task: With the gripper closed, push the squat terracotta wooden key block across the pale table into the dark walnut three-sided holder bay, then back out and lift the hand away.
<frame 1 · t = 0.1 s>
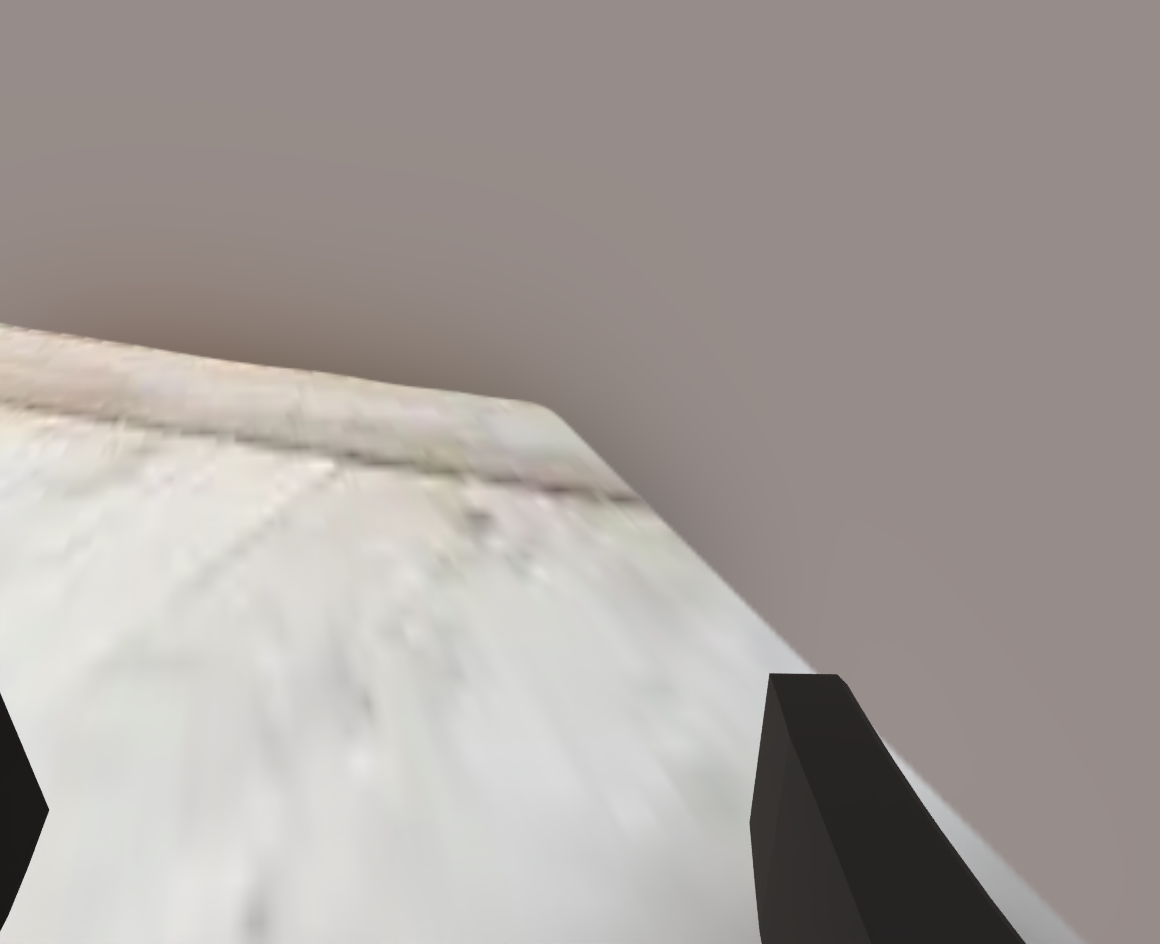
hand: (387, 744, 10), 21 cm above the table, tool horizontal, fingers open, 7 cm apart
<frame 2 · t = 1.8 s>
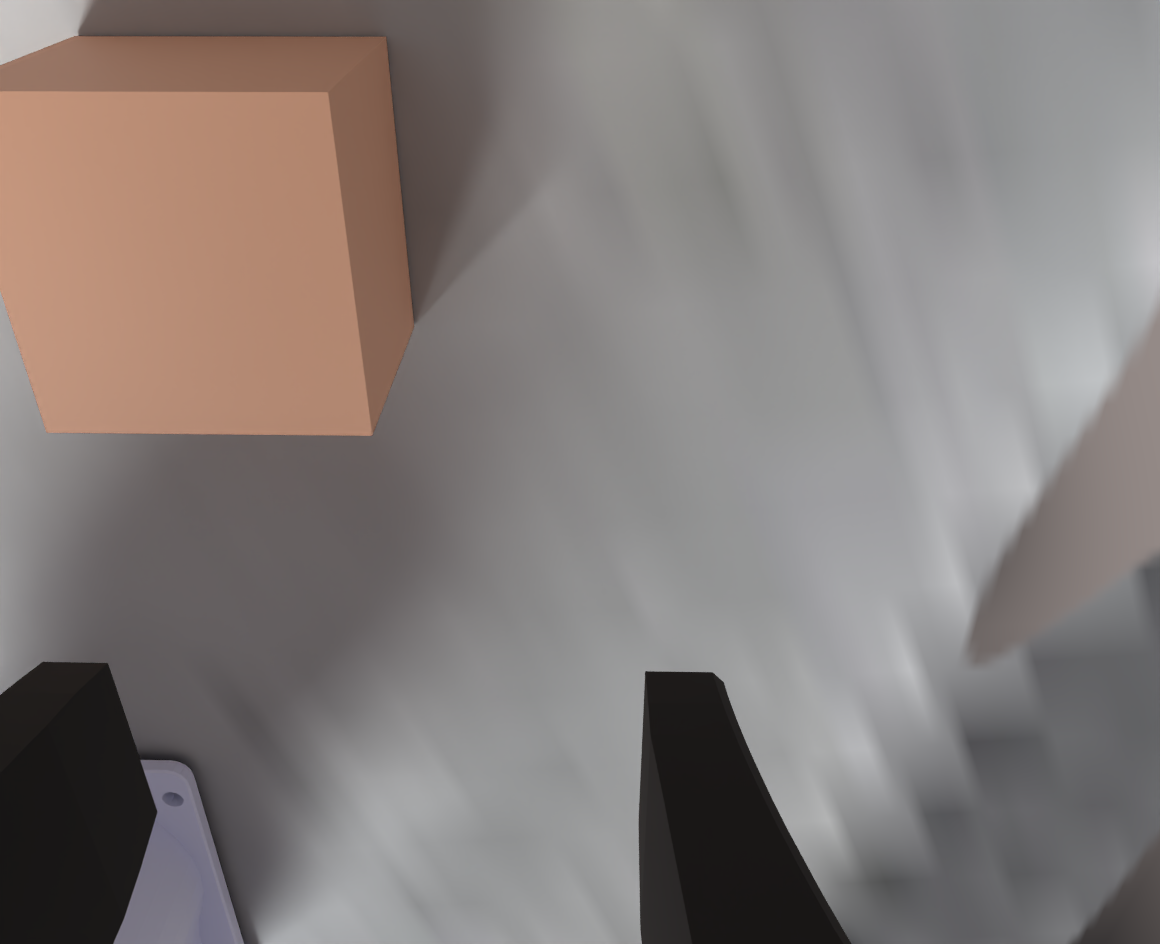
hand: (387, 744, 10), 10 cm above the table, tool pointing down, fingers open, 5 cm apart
key block: (256, 192, 18), on the table
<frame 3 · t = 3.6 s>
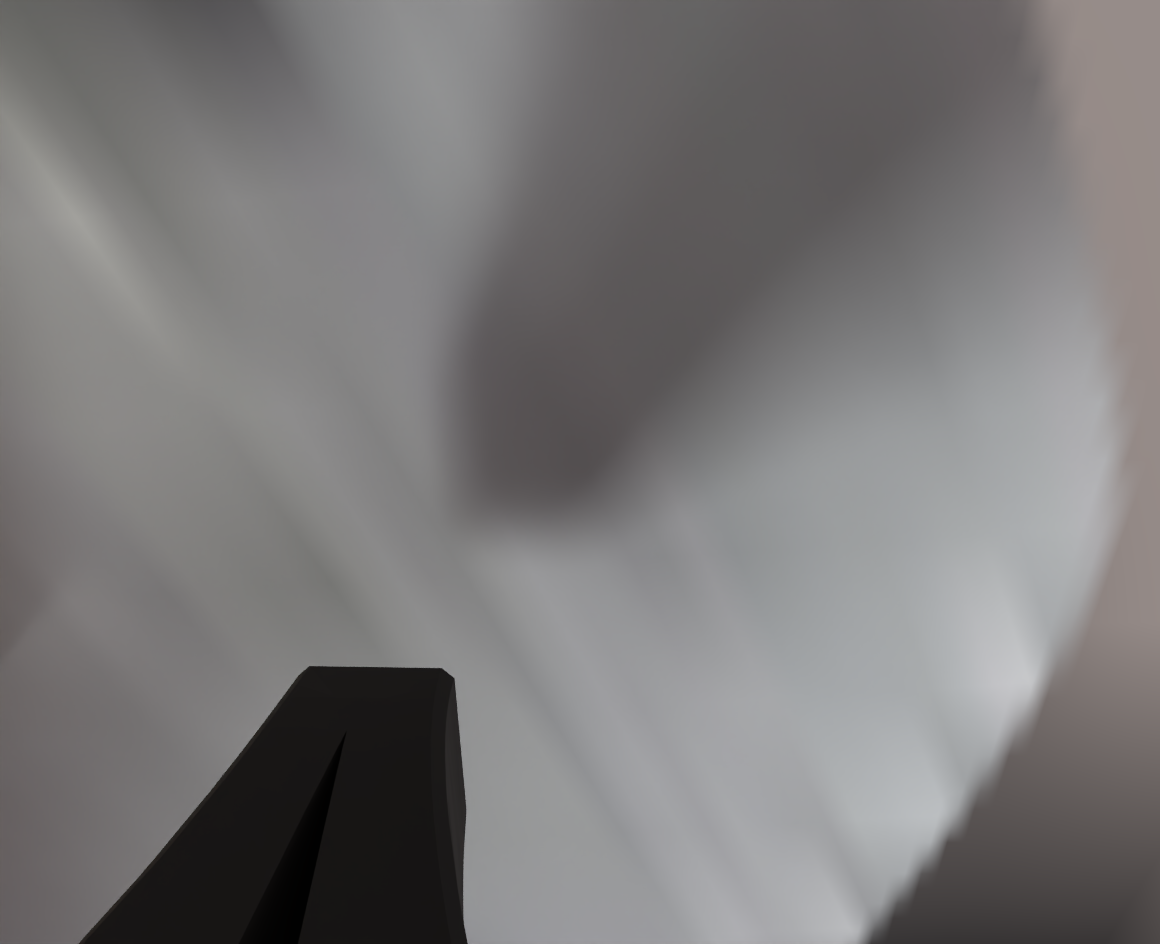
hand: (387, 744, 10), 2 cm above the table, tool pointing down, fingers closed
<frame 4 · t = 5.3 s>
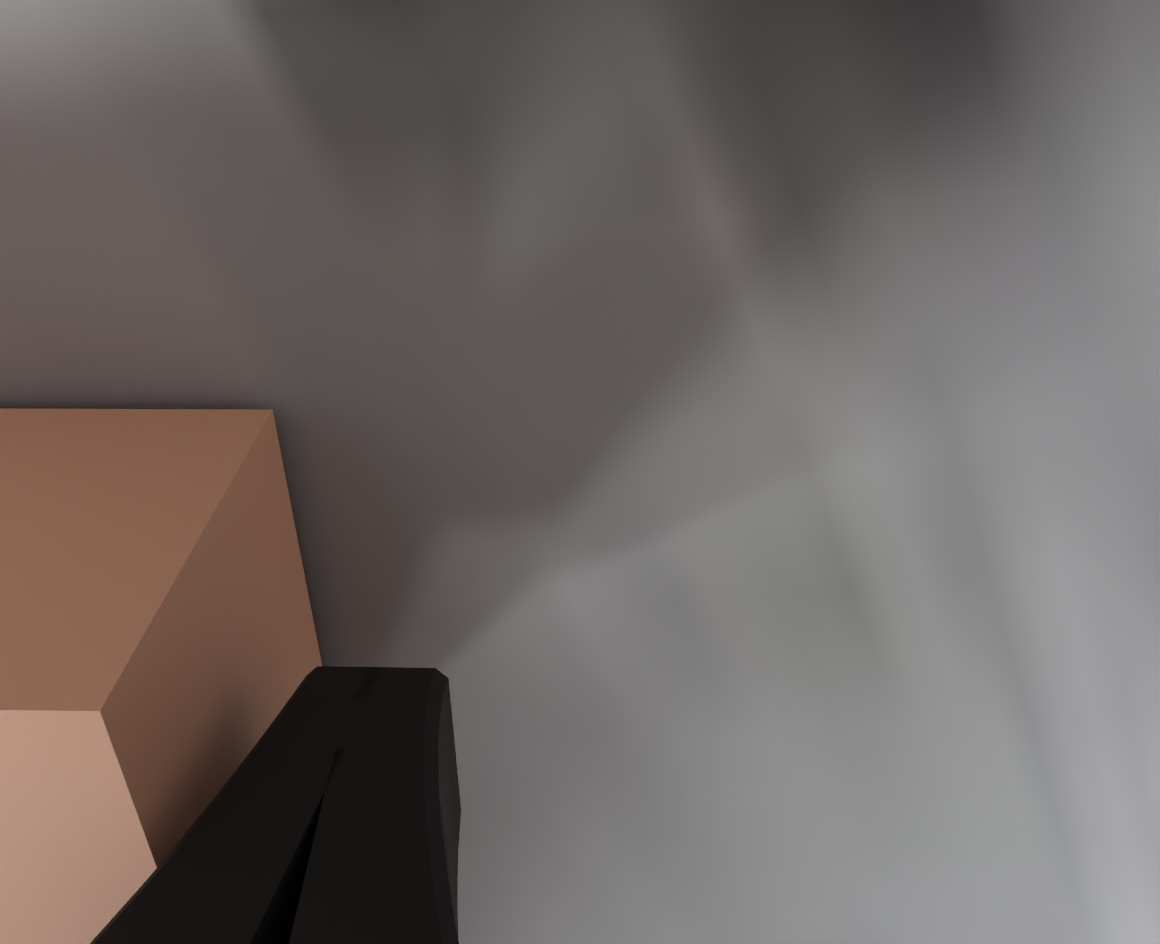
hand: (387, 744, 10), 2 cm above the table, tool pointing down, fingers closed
key block: (87, 606, 11), on the table, touching gripper
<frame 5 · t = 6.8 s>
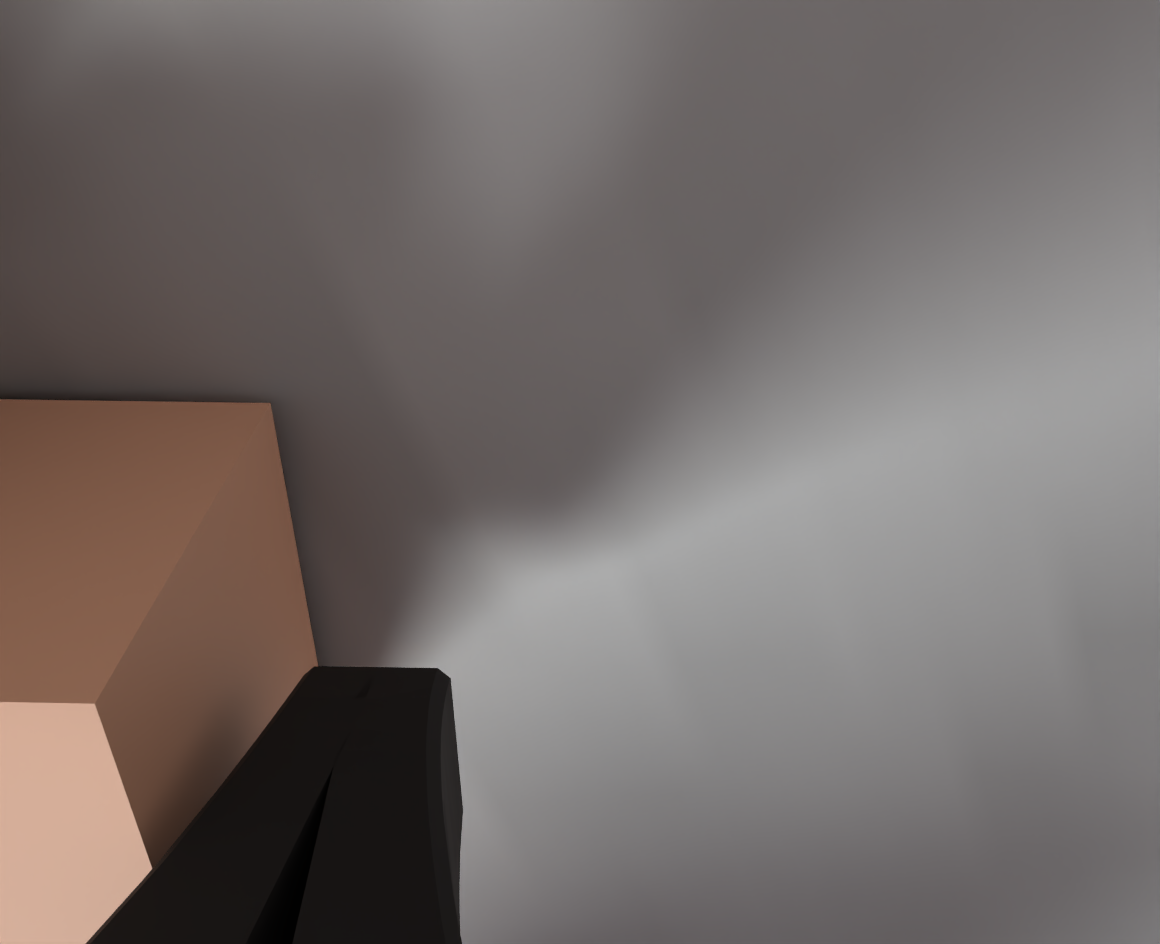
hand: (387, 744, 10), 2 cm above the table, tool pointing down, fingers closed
key block: (81, 599, 11), on the table, touching gripper
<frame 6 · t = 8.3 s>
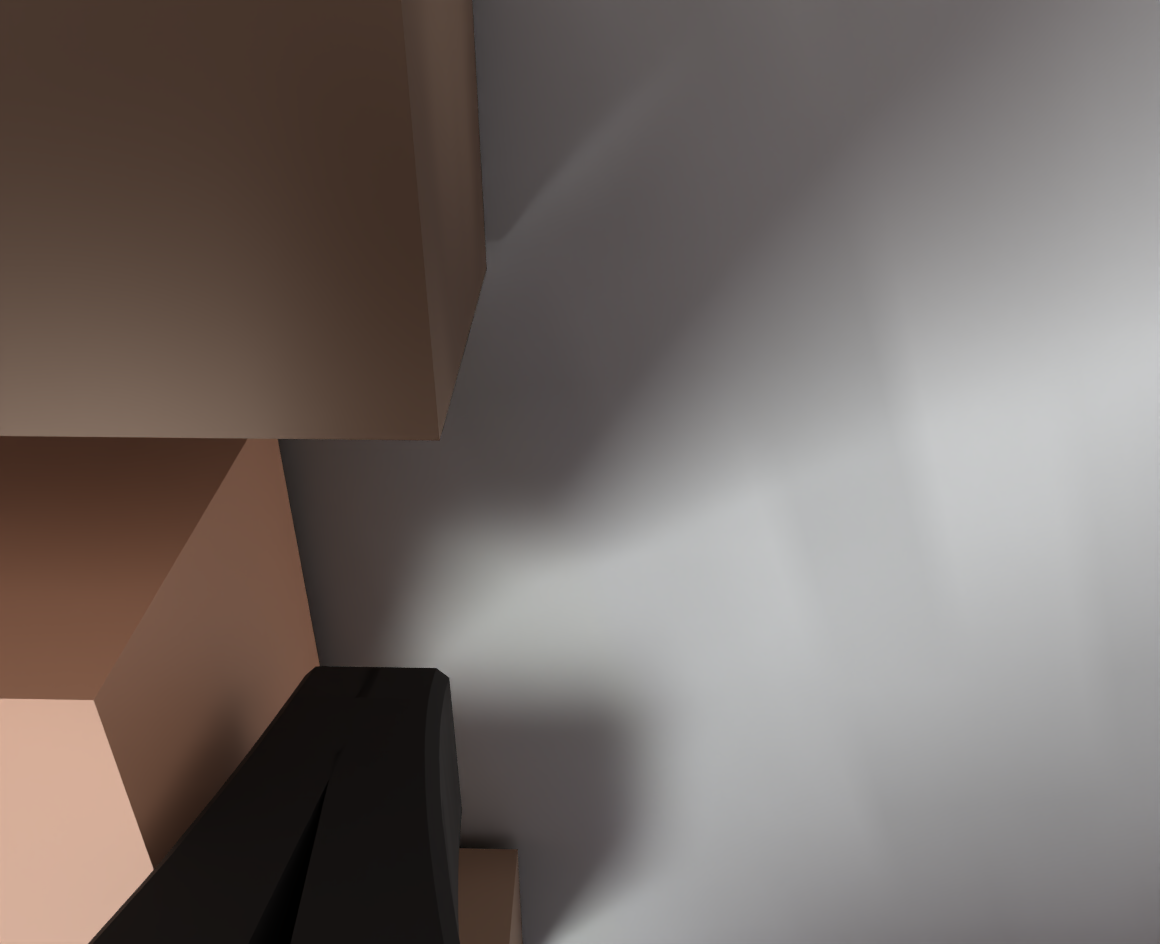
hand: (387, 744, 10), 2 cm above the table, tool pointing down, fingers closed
key block: (82, 597, 11), on the table, touching gripper
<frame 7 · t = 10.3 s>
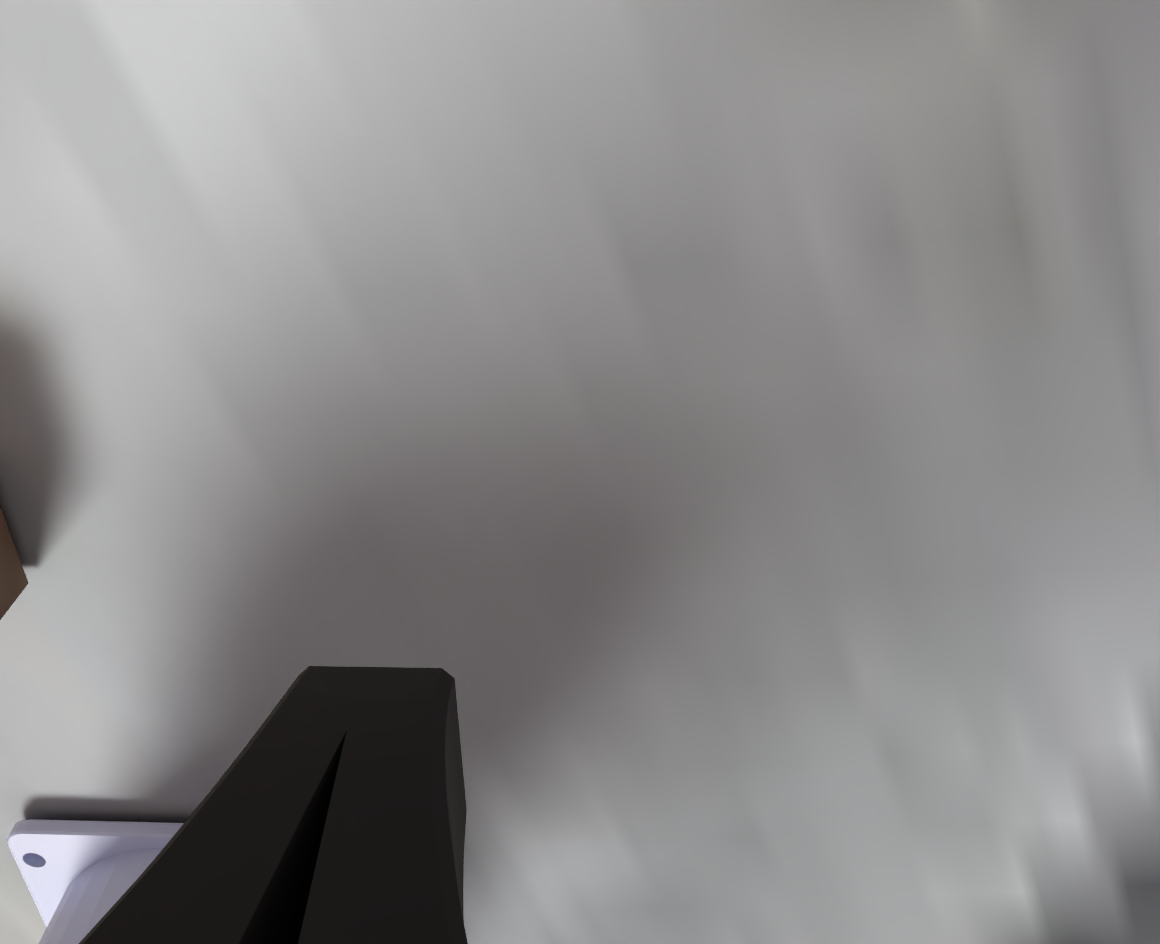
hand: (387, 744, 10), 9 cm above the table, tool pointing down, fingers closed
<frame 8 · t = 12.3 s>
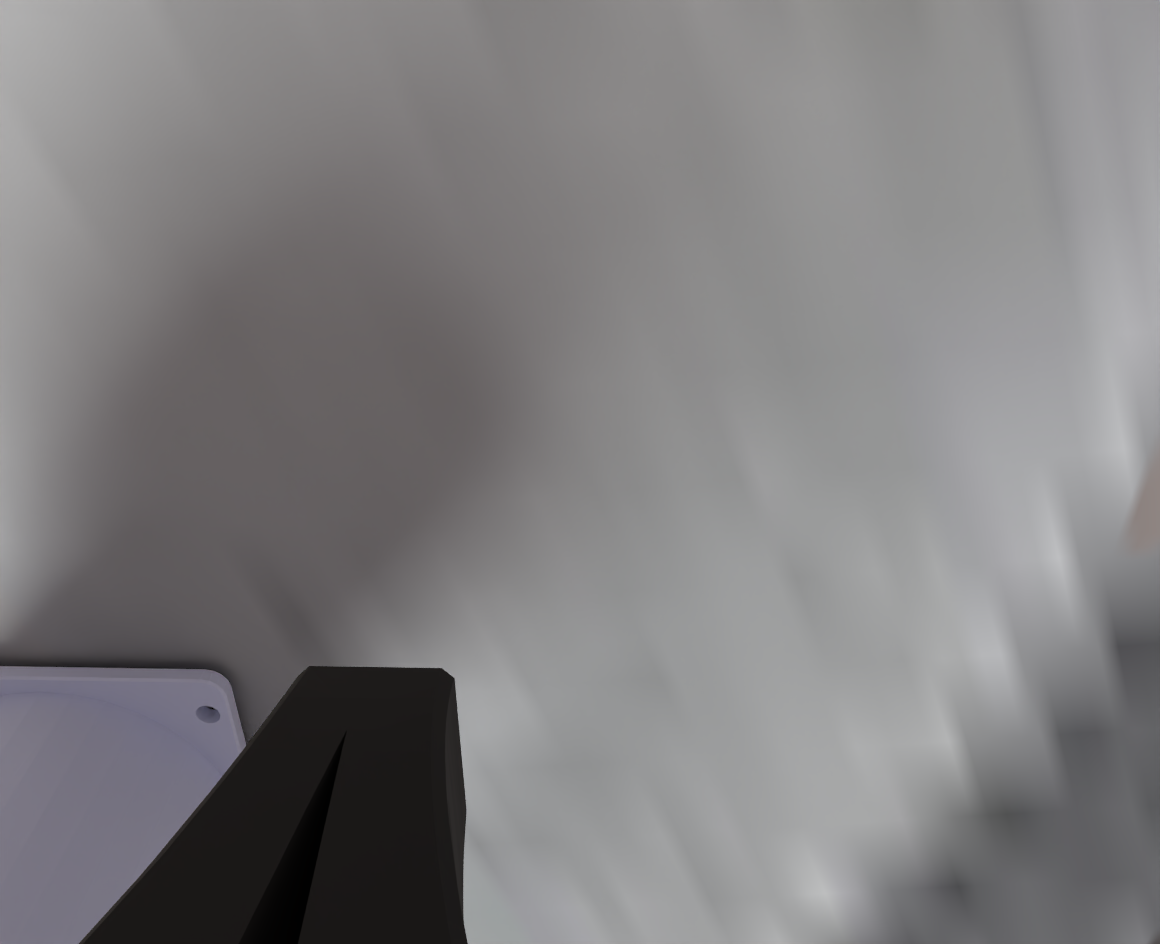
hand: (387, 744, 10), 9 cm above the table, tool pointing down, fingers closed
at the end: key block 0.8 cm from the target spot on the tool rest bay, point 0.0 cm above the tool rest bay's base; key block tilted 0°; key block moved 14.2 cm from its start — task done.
